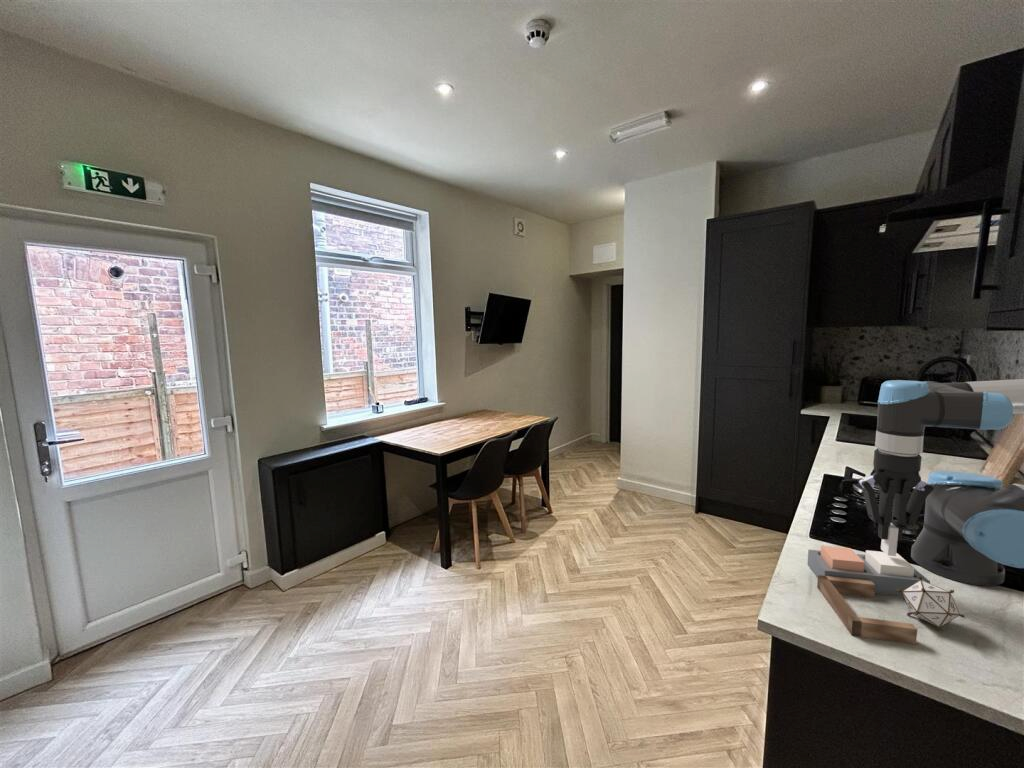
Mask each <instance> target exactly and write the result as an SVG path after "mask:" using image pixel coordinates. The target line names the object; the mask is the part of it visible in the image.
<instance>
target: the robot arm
mask: <svg viewBox="0 0 1024 768" xmlns="http://www.w3.org/2000/svg"><path fill="white" fill-rule="evenodd" d="M1019 414H1020V415H1024V378H1021V379H1020V378H1018V379H999V380H981V381H980V380H978V381H964V382H959V381H958V382H938V381H920V380H903V379H896V380H895V379H892V380H891V379H890V380H885V381H884V382H883V383H881V386H880V390H879V395H878V400H877V421H876V422H877V423H876V431H875V442H874V447H875V450H874V451H873V461H872V462H873V463H872V464H873V469H872V471H871V472H870V476H868V477H866V478H862V477H860V478H858V479H857V483H858V484H859V485H860V487H861V488H862V493H863V494H862V495H863V497H864V502H865V507H866V511H867V516H868V518H869V519H870V520H871V521H872V522H874V523H876V524H878V528H877V536H878V537H879V538H880V539H881V542H880V550H881V552H885V553H886V554H887V555H889V556H896V553H897V549H898V548H897V547H898V541H899V542H901V541H902V539H903V532H904V531H906V530H907V529H908V526H910V527H914V526H915V525H916V523H917V520H918V518H919V516H920V514H921V512H922V510H923V507H924V516H923V517H924V519H923V528H922V530H921V531H920V533H919V535H918V536H917V538H916V539H915V541H914V543H913V544H912V545H911V551H910V552H911V553H910V557H911V559H912V560H913V561H914V562H915V563H916V564H917V565H919V566H920V567H922V568H924V569H926V570H927V571H929V572H932V573H933V574H937V575H939V576H941V577H944V578H947V579H951V580H954V581H957V582H962V583H966V584H970V585H978V586H987V587H988V586H989V587H990V586H993V587H994V586H998V585H1002V584H1003V583H1004V582H1005V577H1006V569H1005V567H1004V565H1005V566H1008V567H1012V568H1017V569H1024V484H1022V483H1021V484H1020V483H1012V484H1009V485H1007V486H1005V487H1004V483H1003V481H1002V480H1001V479H1000V478H999V479H998V478H996V477H993V476H989V475H983V474H980V473H979V474H977V473H972V472H971V473H970V472H963V471H953V470H936V471H933V472H930V473H929V475H928V477H927V481H923V480H922V477H921V475H920V472H921V466H922V458H923V457H922V455H920V454H922V453H923V451H924V435H925V429H926V427H930V428H932V427H933V428H934V427H935V428H950V429H967V430H979V431H982V430H983V431H984V430H985V431H986V430H989V431H990V430H991V431H992V430H997V431H998V430H1003V429H1005V428H1007V427H1008V426H1009V425H1010V424H1011V422H1012V421H1013V418H1014V416H1013V415H1019ZM875 484H876V486H877V487H878V492H879V501H877V497H876V491H875V490H874V488H875ZM911 491H912V493H911ZM910 493H911V494H910Z"/></svg>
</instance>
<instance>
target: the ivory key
mask: <svg viewBox="0 0 1024 768" xmlns="http://www.w3.org/2000/svg"><path fill="white" fill-rule="evenodd" d="M864 555H865V560H866V561H867V562H868V563H869V564H870V565H871V566H872V567H873V568H874V569H875V570H876V571H877V572H878V573H879V574H886V575H896V576H906V577H914V568H915V567H914V566H913V565H912V564H911V563H910V562H908V561H907V560H906V559H904V557H902V555H900V554H899V553H897V552H896V556H889V555H887V554H886V553H885V552H884V551H877V550H868V549H867V550H865V554H864Z"/></svg>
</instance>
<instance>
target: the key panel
mask: <svg viewBox="0 0 1024 768" xmlns="http://www.w3.org/2000/svg"><path fill="white" fill-rule="evenodd" d="M807 552H808V553H807V566H808V567H809V569H810V570H811V571H812V573H813V574H814V575H815V577H816V578H817V579H818V575H822V576H832V577H841V578H850V579H859V580H869V581H872V582H873V583H874V584H875V594H882V595H883V594H885V595H893V596H899V597H900V596H901V597H904V596H903V594H902V593H901V592H898V591H897V590H896V589H899V590H901V591H903V590H905V589H907V588H908V587H910V586H911V585H913V584H915V583H916V582H918V581H919V580H920V579H919V578H918V577H919V575H920V576H921V577H922V580H923V581H925V582H928V583H930V584H931V581H930V579H929V578H927V577H926V576H924V575H923V574H922V573H921V572H919V571H918V570H917V569H916V568H915V567H914V577H906V576H896V575H886V574H879V573H878V572H877V571H876V570H875V569H874V568H873V567H872V566H871V565H870V564H869V563H868V562H867V561H866V560H865V555H866V554H861V553H860V554H859V553H856V554H857V555H858V556H859V557H860V558H861V559H862V560H863V561H864V562H865V563H864V572H857V571H848V570H838V569H831V568H830V567H829V566H828V565H827V564H826V562H825V561H824V560H823V559H822V558H821V556H820V555H821V550H816V549H815V550H814V549H808V551H807Z"/></svg>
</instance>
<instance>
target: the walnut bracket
mask: <svg viewBox="0 0 1024 768" xmlns="http://www.w3.org/2000/svg"><path fill="white" fill-rule="evenodd" d="M816 583H817V589H818V590H819V592H820V593H821V595H822V596H823V597H824V599H825V600H826V601H827V604H828V605H829V606H830V607H831V608H832V610H833V611H834V613H835V614H836V616H837V617H838V619H839V620H840V621H841V623H842V624H843V626H844V627H845V628H846V631H848V632H849V634H850V635H851V636H855V637H863V638H869V639H876V640H884V641H890V642H897V643H898V642H899V643H906V644H913V645H917V639H918V637H917V636H918V629H917V627H916V626H915V625H914V624H913V623H909V622H901V621H896V620H895V621H894V620H884V619H878V618H870V617H861V616H858V615H857V614H856V613H855V611H854V610H853V608H851V606H850V605H849V604H848V602H847V601H846V600H845V598H844V597H843V596H842V595H849V596H856V597H865V598H866V597H867V598H873V599H874V598H875V594H876V593H875V584H874V583H873V582H872V581H869V580H859V579H850V578H841V577H832V576H822V575H818V578H817V582H816Z"/></svg>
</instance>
